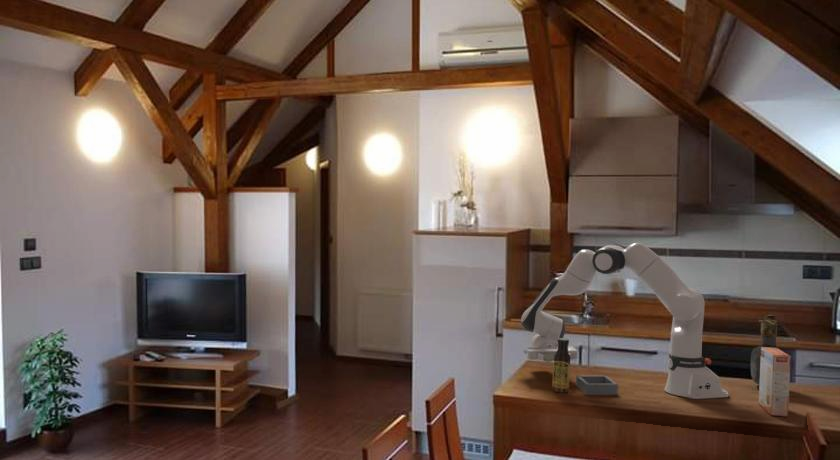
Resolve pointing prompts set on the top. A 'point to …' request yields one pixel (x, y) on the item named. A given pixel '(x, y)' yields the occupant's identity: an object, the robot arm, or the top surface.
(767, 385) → the cracker box
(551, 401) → the top surface
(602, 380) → the bottle collar
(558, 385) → the sauce bottle
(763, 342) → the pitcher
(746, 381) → the top surface
